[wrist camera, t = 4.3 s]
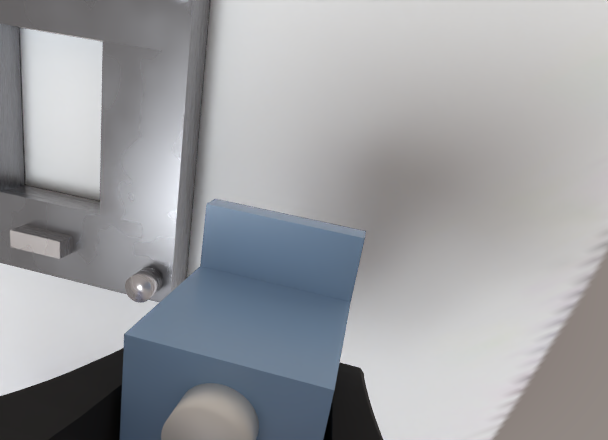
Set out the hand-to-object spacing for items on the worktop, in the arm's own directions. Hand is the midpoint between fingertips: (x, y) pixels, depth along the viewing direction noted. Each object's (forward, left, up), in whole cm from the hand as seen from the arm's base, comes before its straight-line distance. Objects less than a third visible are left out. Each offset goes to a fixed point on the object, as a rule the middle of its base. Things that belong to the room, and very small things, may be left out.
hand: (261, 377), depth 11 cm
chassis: (+4, +12, -8) cm, 15 cm away
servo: (0, 0, -2) cm, 2 cm away
